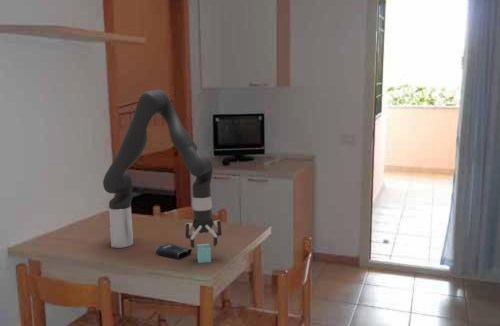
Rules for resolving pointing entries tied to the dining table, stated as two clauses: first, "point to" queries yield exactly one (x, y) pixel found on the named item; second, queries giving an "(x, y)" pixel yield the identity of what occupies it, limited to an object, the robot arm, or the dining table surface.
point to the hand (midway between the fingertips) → (204, 246)
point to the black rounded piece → (172, 250)
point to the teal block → (203, 253)
